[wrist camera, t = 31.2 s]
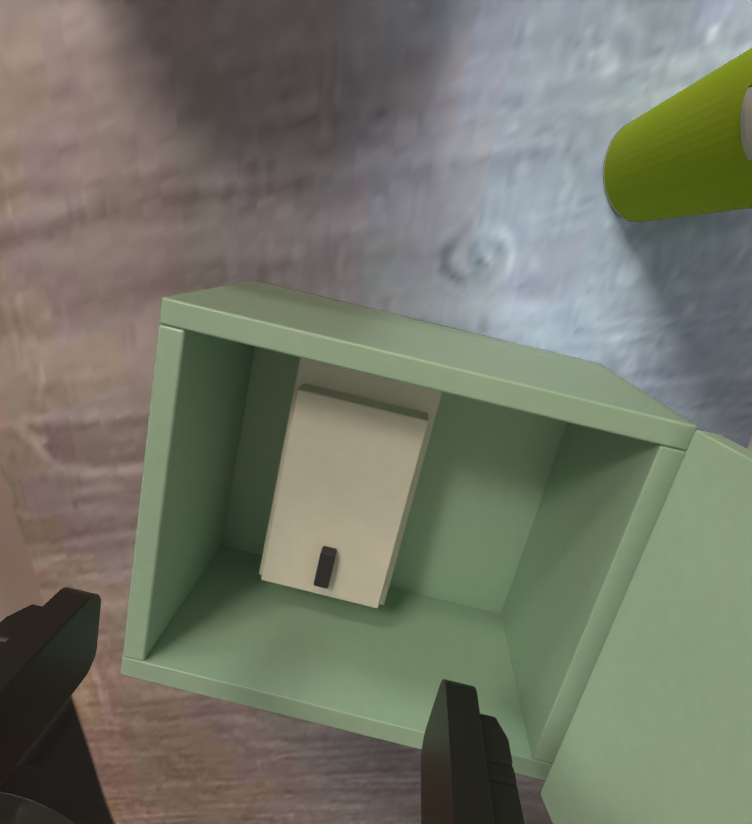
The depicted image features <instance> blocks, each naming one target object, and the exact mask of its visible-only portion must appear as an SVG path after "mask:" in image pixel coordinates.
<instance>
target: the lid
mask: <svg viewBox="0 0 752 824" xmlns="http://www.w3.org/2000/svg"><path fill="white" fill-rule="evenodd" d="M541 797H542V799H543V802H544V804H545V806H546V809H547V811H548V814H549V816H550V819H551V821H552V823H553V824H752V451H751V450H749V449H747V448H745V447H743V446H741V445H739V444H737V443H735V442H733V441H731V440H729V439H727V438H725V437H724V436H722V435H720V434H715V433H709V432H704V431H699V430H697V431H695V433H694V435H693V437H692V440H691V442H690V444H689V447H688V449H687V451H686V454H685V456H684V458H683V461H682V463H681V466H680V468H679V470H678V473H677V475H676V477H675V480H674V482H673V484H672V487H671V489H670V491H669V494H668V496H667V498H666V501H665V503H664V505H663V508H662V510H661V512H660V515H659V517H658V519H657V522H656V524H655V526H654V529H653V531H652V533H651V536H650V538H649V540H648V543H647V545H646V547H645V550H644V552H643V554H642V557H641V559H640V561H639V564H638V566H637V568H636V571H635V573H634V575H633V578H632V580H631V582H630V585H629V587H628V589H627V592H626V594H625V596H624V599H623V601H622V603H621V606H620V608H619V610H618V613H617V615H616V617H615V620H614V622H613V625H612V627H611V629H610V632H609V634H608V636H607V639H606V641H605V643H604V646H603V648H602V650H601V653H600V655H599V657H598V660H597V662H596V664H595V667H594V669H593V671H592V674H591V676H590V678H589V681H588V683H587V685H586V688H585V690H584V692H583V695H582V697H581V699H580V702H579V704H578V706H577V709H576V711H575V713H574V716H573V718H572V720H571V723H570V725H569V727H568V730H567V732H566V734H565V737H564V739H563V741H562V744H561V746H560V748H559V751H558V753H557V755H556V758H555V760H554V762H553V765H552V767H551V769H550V772H549V774H548V776H547V779H546V781H545V784H544V786H543V788H542V791H541Z"/></svg>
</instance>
